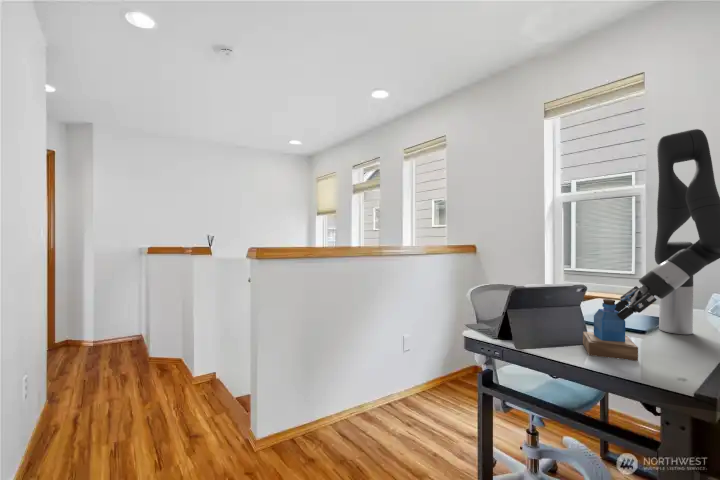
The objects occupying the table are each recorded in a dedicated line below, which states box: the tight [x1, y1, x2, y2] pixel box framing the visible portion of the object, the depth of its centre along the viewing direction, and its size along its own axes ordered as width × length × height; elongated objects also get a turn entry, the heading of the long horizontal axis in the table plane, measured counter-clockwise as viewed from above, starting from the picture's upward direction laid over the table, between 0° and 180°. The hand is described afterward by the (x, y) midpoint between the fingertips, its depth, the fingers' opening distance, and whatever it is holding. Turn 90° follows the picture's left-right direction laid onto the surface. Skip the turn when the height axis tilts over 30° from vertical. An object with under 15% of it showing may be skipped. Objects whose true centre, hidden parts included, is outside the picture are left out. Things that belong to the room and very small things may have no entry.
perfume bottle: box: [593, 298, 626, 342], centre depth 109 cm, size 6×6×12 cm
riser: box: [582, 331, 639, 362], centre depth 109 cm, size 12×12×4 cm
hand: (616, 314), depth 108 cm, fingers open, 8 cm apart
